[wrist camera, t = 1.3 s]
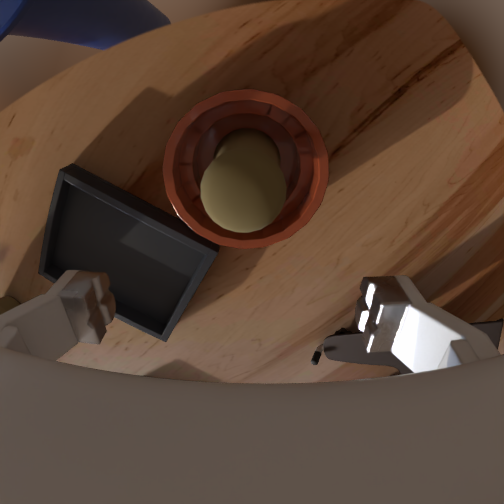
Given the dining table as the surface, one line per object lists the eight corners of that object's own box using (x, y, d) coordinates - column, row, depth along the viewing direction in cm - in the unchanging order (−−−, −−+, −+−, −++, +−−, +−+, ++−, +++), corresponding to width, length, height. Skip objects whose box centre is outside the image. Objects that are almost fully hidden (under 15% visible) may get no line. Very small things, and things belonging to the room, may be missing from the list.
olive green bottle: (293, 148, 26) (317, 180, 17) (259, 204, 29) (262, 264, 19) (232, 115, 25) (219, 125, 15) (201, 174, 27) (172, 219, 18)
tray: (48, 262, 32) (37, 273, 30) (72, 162, 27) (59, 169, 25) (170, 327, 36) (166, 342, 34) (221, 240, 31) (218, 252, 29)
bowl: (156, 186, 28) (138, 203, 24) (220, 67, 23) (213, 60, 19) (270, 246, 31) (272, 272, 27) (342, 139, 26) (359, 148, 22)
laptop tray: (323, 291, 41) (301, 344, 34) (494, 275, 28) (506, 336, 21) (355, 384, 50) (341, 428, 44) (478, 381, 37) (476, 430, 31)
